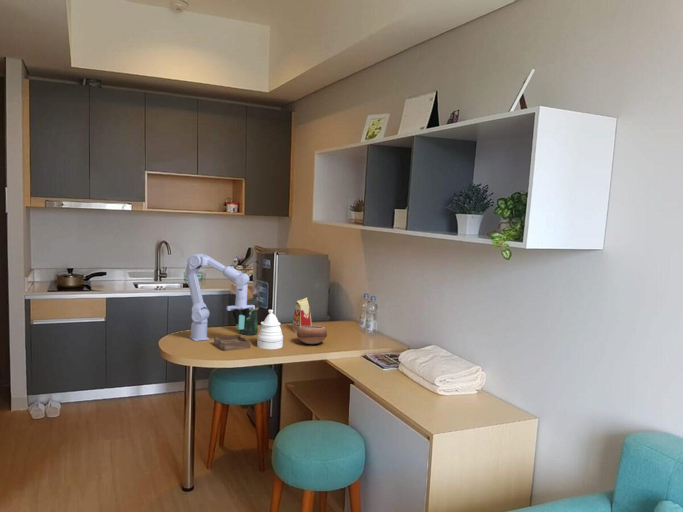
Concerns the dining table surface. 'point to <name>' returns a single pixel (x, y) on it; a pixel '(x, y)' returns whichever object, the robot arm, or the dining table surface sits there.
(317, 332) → the bowl
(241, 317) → the peg
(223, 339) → the socket box
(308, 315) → the milk carton
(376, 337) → the dining table surface
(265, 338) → the honey pot
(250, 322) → the coffee jar
